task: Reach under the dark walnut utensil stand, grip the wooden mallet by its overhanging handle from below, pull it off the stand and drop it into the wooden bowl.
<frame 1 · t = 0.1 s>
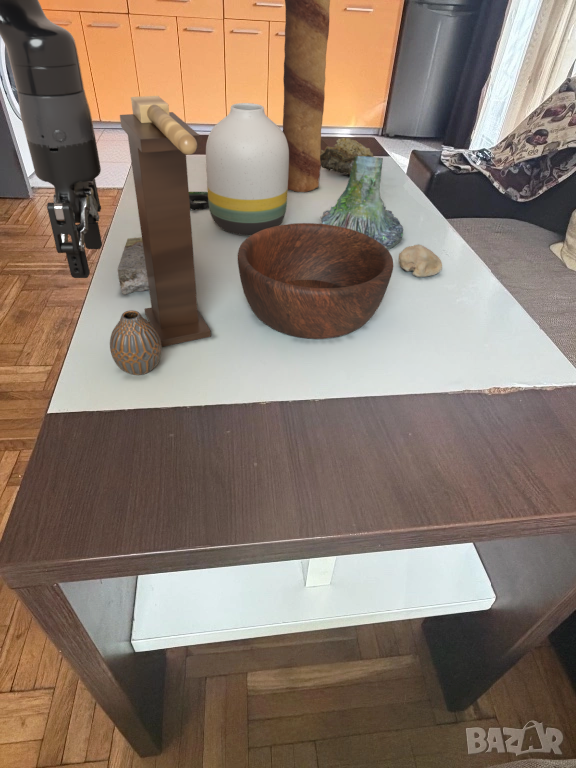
hand: (88, 261, 71), 13 cm above the table, tool pointing down, fingers open, 8 cm apart
mineral specimen: (347, 174, 148), on the table
vase: (139, 367, 76), on the table
wafer roll: (298, 186, 138), on the table
geological specimen: (156, 278, 96), on the table
gun: (179, 204, 125), on the table
tree stump: (360, 231, 117), on the table
stone: (418, 271, 103), on the table
utensil stand: (179, 328, 84), on the table
vase 2: (247, 227, 116), on the table
wooden bowl: (311, 309, 90), on the table
wooden mallet: (164, 130, 63), point 30 cm above the table, touching utensil stand
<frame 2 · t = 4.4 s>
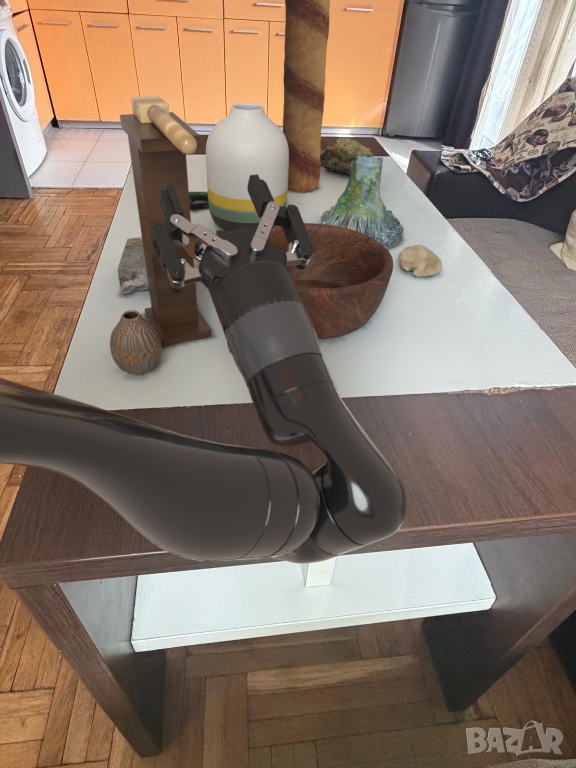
hand: (210, 185, 51), 29 cm above the table, tool pointing upward, fingers open, 8 cm apart
nothing on the table moved.
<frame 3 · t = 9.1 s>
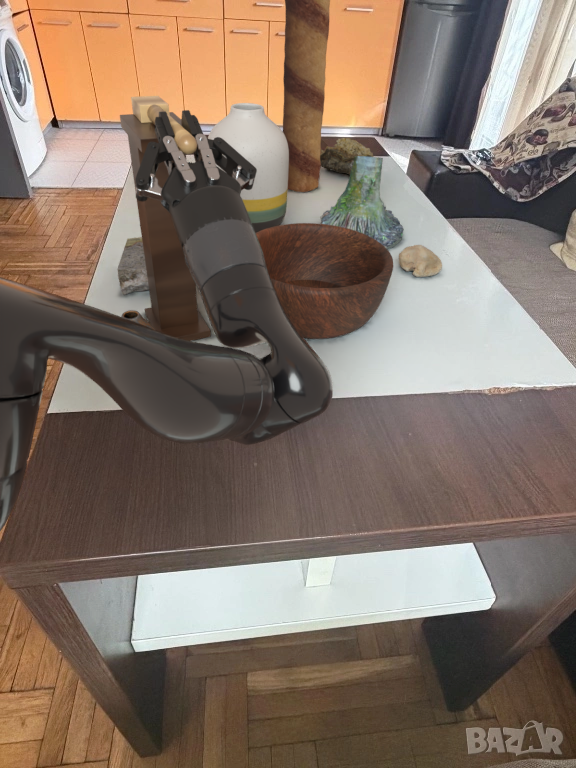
hand: (173, 117, 58), 32 cm above the table, tool pointing upward, fingers closed on wooden mallet, 2 cm apart
wooden mallet: (164, 130, 63), point 30 cm above the table, touching gripper, utensil stand
everything else where it was.
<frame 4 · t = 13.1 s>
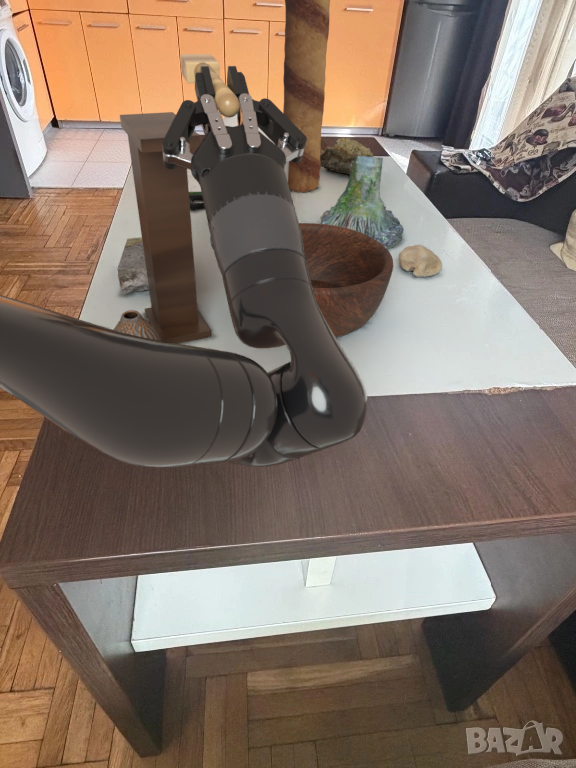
hand: (217, 74, 50), 38 cm above the table, tool pointing upward, fingers closed on wooden mallet
wooden mallet: (210, 91, 55), point 35 cm above the table, touching gripper
everything else where it was.
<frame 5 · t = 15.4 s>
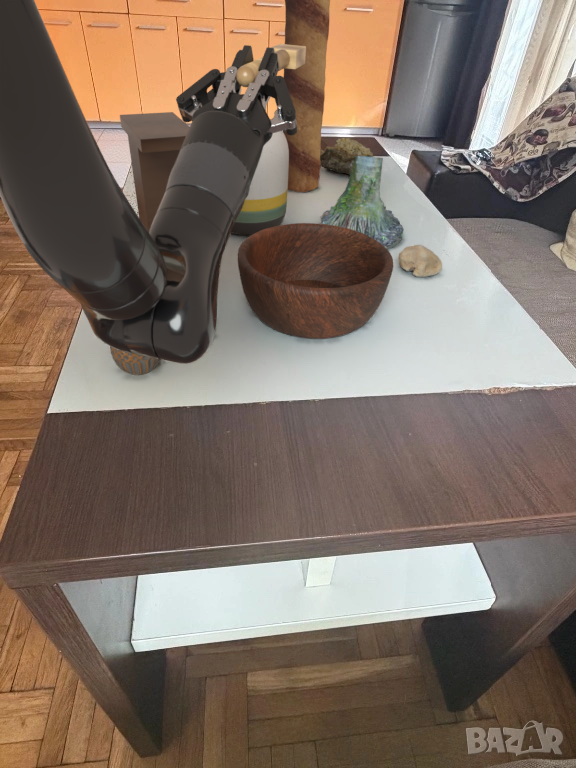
hand: (260, 54, 58), 38 cm above the table, tool pointing upward, fingers closed on wooden mallet
wooden mallet: (272, 72, 63), point 36 cm above the table, touching gripper
everything else where it was.
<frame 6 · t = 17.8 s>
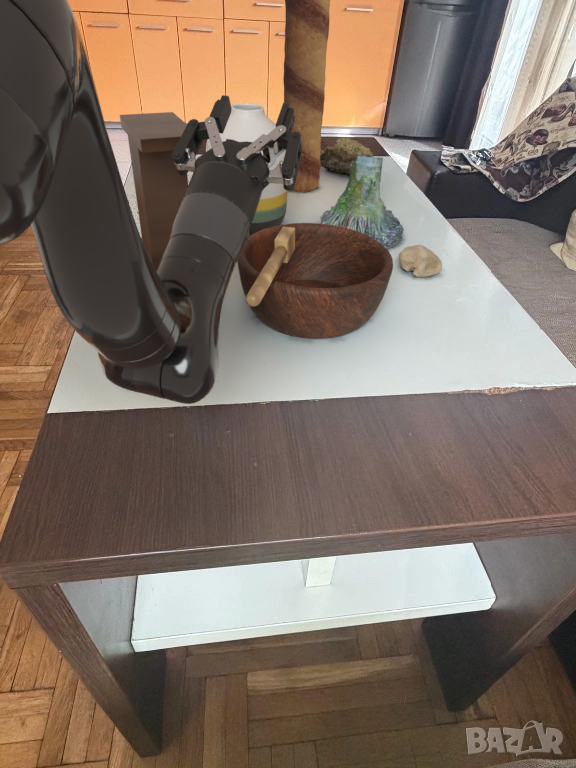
hand: (257, 105, 60), 33 cm above the table, tool pointing upward, fingers open, 6 cm apart
wooden bowl: (310, 309, 90), on the table, touching wooden mallet
wooden mallet: (267, 263, 77), point 12 cm above the table, tilted 88°, touching wooden bowl
everything else where it was.
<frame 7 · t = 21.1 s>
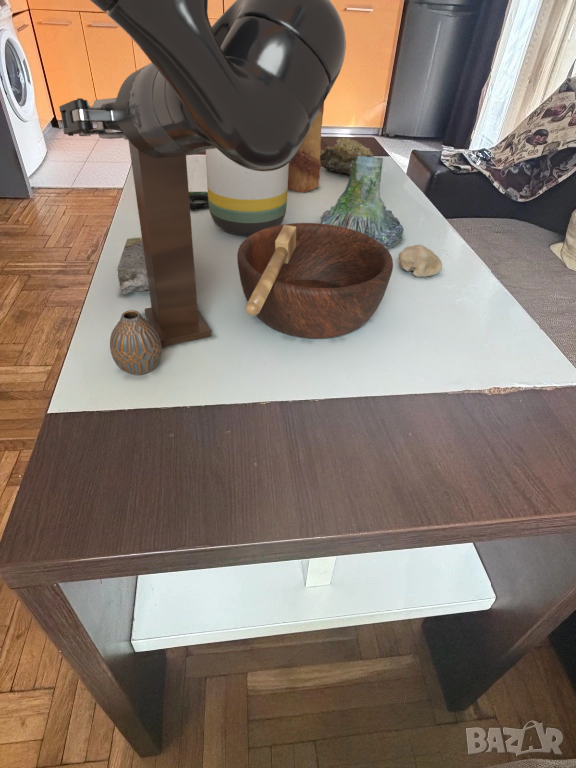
hand: (119, 125, 58), 31 cm above the table, tool tilted 75°, fingers open, 8 cm apart
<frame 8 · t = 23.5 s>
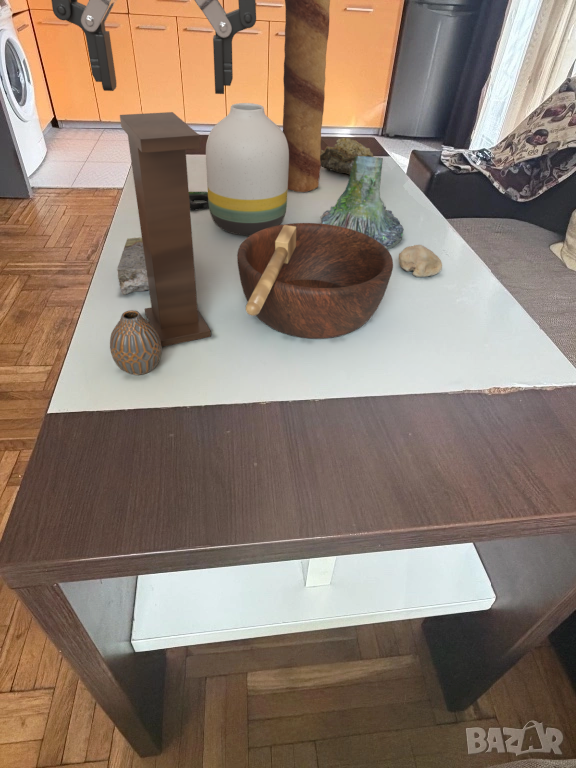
hand: (165, 90, 41), 38 cm above the table, tool pointing down, fingers open, 8 cm apart
nothing on the table moved.
at the end: wooden mallet inside the target area in the wooden bowl (10.9 cm from its centre), point 11.8 cm above the wooden bowl's base; wooden mallet touching wooden bowl; the gripper is holding nothing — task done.
